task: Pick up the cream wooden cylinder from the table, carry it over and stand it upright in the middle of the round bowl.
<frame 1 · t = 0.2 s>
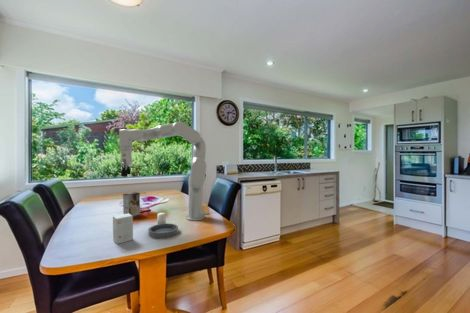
hand: (126, 175, 145), 31 cm above the table, tool pointing down, fingers open, 9 cm apart
small box: (123, 240, 119), on the table
cream cylinder: (161, 224, 144), on the table
round bowl: (163, 232, 130), on the table
coffee box: (131, 215, 162), on the table
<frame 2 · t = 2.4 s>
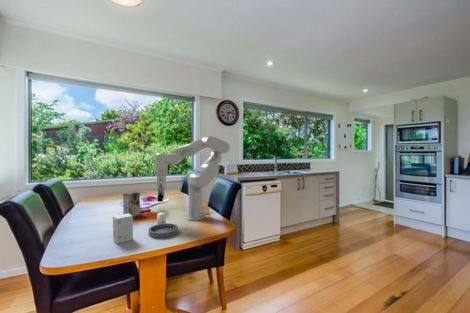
hand: (160, 199, 143), 16 cm above the table, tool pointing down, fingers open, 9 cm apart
nothing on the table moved.
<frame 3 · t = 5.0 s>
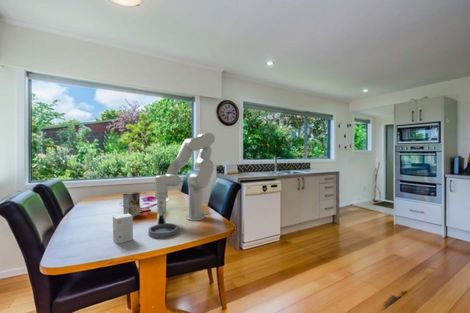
hand: (161, 222, 144), 1 cm above the table, tool pointing down, fingers closed on cream cylinder, 5 cm apart
cream cylinder: (161, 224, 144), on the table, touching gripper
everything else where it was.
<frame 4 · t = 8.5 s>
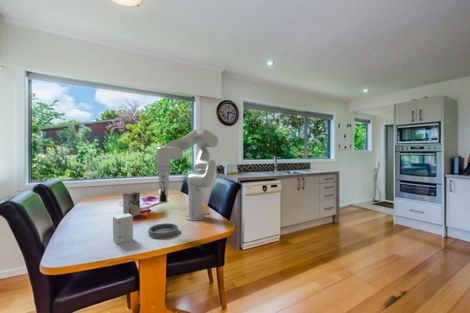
hand: (163, 200, 129), 19 cm above the table, tool pointing down, fingers closed on cream cylinder, 5 cm apart
cream cylinder: (163, 202, 129), point 18 cm above the table, touching gripper
everything else where it was.
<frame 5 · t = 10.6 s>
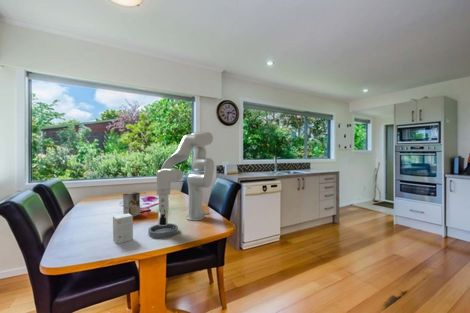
hand: (163, 222, 129), 6 cm above the table, tool pointing down, fingers closed on cream cylinder, 5 cm apart
cream cylinder: (163, 224, 129), point 5 cm above the table, touching gripper
everything else where it was.
when the fingers open (3 cm above the table, at t = 12.3 s): cream cylinder drops 1 cm, resting on round bowl.
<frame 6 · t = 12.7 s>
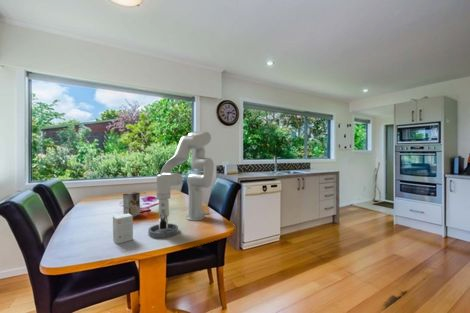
hand: (163, 225, 129), 4 cm above the table, tool pointing down, fingers open, 8 cm apart
cream cylinder: (163, 231, 130), point 1 cm above the table, touching round bowl
everything else where it was.
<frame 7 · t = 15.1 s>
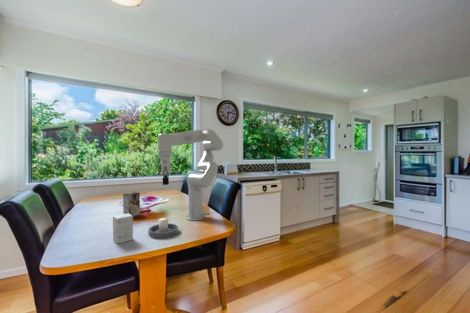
hand: (165, 183, 135), 28 cm above the table, tool pointing down, fingers open, 9 cm apart
nothing on the table moved.
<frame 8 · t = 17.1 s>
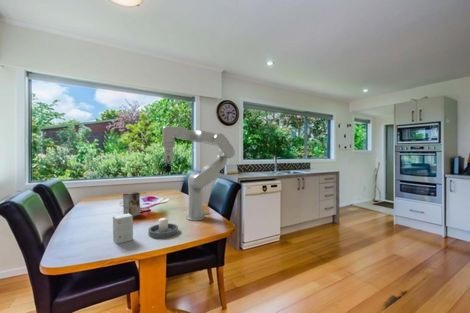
hand: (168, 171, 148), 33 cm above the table, tool pointing down, fingers open, 9 cm apart
nothing on the table moved.
at the end: cream cylinder 0.1 cm off-centre on the round bowl, point 0.8 cm above the round bowl's base; cream cylinder tilted 0°; the gripper is holding nothing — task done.
